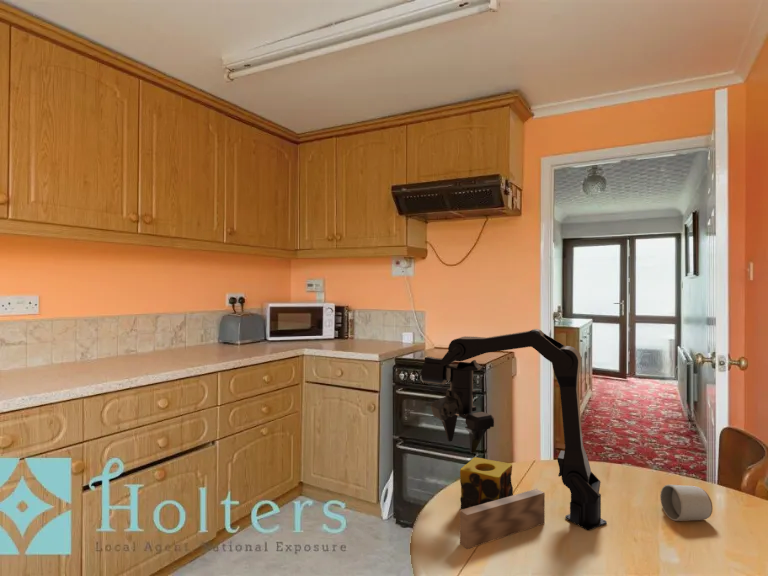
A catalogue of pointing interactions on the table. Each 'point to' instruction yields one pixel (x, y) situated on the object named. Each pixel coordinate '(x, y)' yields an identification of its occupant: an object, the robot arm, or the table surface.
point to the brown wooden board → (501, 518)
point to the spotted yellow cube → (484, 482)
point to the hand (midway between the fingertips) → (461, 446)
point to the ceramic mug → (685, 502)
